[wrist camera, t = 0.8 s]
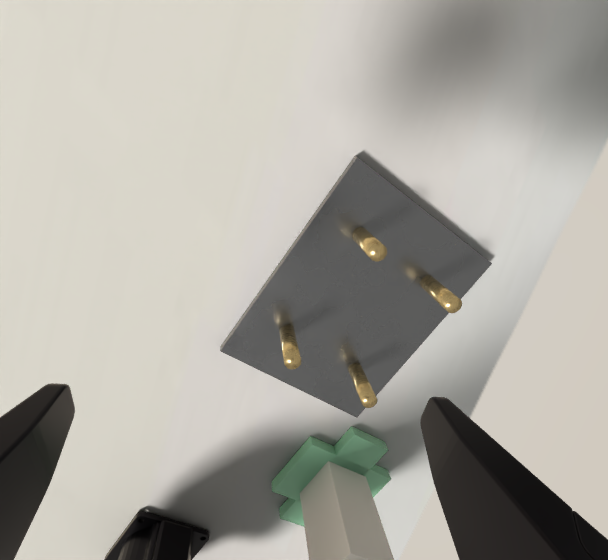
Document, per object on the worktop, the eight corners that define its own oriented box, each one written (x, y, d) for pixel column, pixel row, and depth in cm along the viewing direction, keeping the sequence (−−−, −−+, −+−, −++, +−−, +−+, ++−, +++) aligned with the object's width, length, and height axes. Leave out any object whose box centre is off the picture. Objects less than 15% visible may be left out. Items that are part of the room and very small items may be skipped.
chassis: (354, 412, 29) (370, 454, 26) (220, 346, 25) (216, 384, 22) (486, 260, 26) (527, 283, 22) (354, 156, 22) (377, 162, 18)
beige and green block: (332, 526, 34) (355, 634, 27) (255, 499, 32) (258, 611, 24) (404, 450, 32) (451, 547, 25) (327, 414, 29) (355, 510, 22)
